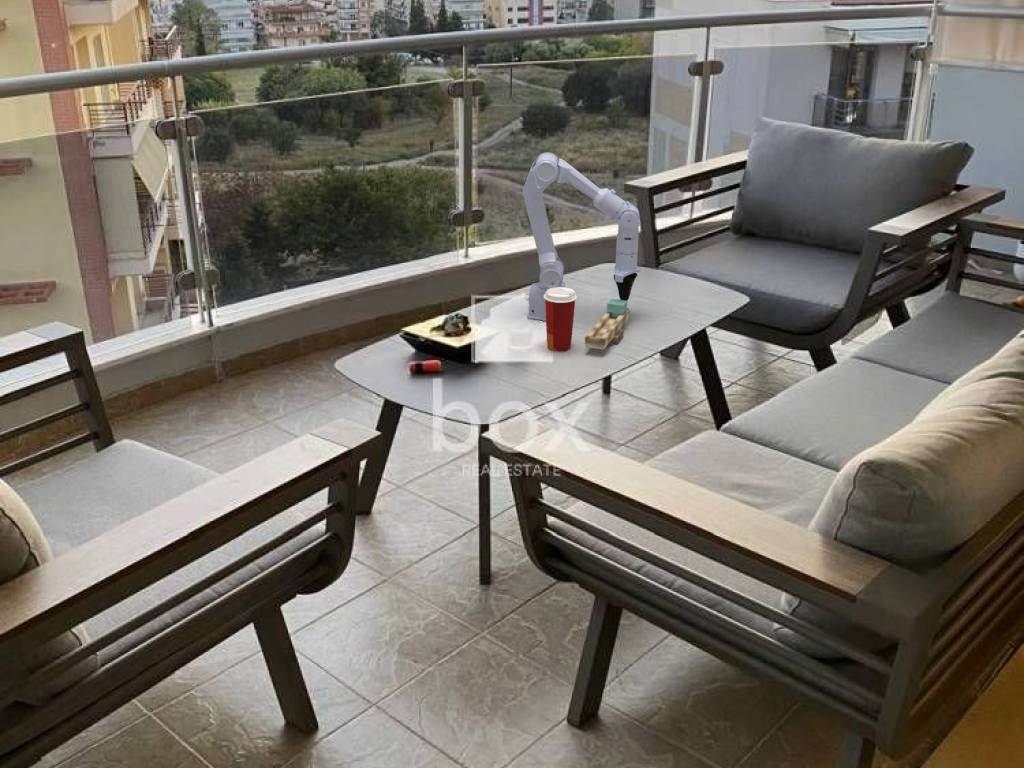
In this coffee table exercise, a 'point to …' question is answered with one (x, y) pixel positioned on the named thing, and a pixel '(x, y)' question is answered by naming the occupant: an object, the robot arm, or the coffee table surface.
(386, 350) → the coffee table surface
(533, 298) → the robot arm
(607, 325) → the tan wooden slatted block
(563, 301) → the coffee cup
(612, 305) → the teal cube
